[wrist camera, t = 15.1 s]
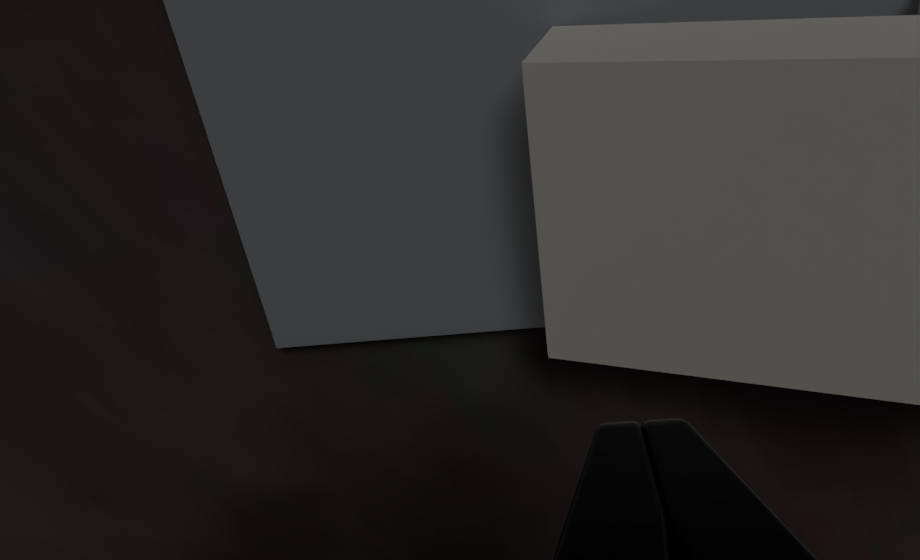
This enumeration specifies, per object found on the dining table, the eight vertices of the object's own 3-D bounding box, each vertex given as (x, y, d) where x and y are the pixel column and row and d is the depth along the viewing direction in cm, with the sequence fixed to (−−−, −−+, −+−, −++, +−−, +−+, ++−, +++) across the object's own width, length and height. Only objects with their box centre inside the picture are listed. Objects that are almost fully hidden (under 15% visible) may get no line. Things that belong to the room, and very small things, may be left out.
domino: (552, 26, 11) (1381, 0, 8) (570, 302, 14) (1199, 365, 11) (521, 63, 10) (1480, 50, 7) (548, 358, 13) (1248, 446, 10)
